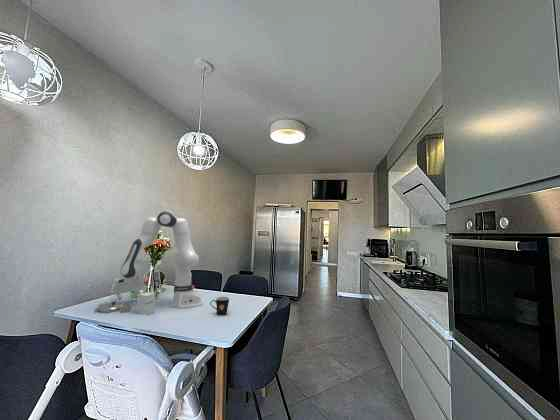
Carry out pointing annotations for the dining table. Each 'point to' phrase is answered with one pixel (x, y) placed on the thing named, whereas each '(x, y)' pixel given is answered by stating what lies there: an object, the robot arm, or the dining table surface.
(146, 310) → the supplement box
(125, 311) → the link block
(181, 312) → the dining table surface
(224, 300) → the coffee mug
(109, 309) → the sprocket
